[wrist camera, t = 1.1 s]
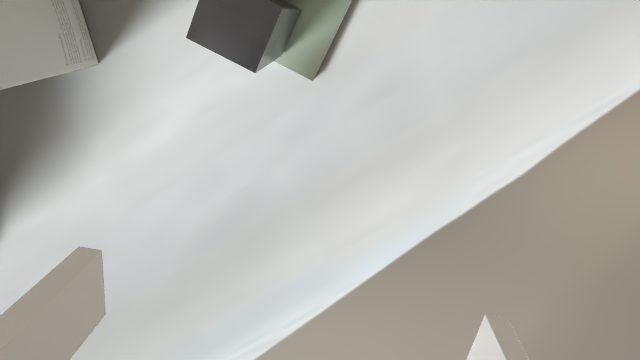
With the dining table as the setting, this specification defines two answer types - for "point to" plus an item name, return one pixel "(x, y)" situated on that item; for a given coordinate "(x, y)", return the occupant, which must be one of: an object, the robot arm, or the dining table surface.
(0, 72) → the skincare box
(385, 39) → the dining table surface
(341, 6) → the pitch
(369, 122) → the dining table surface
